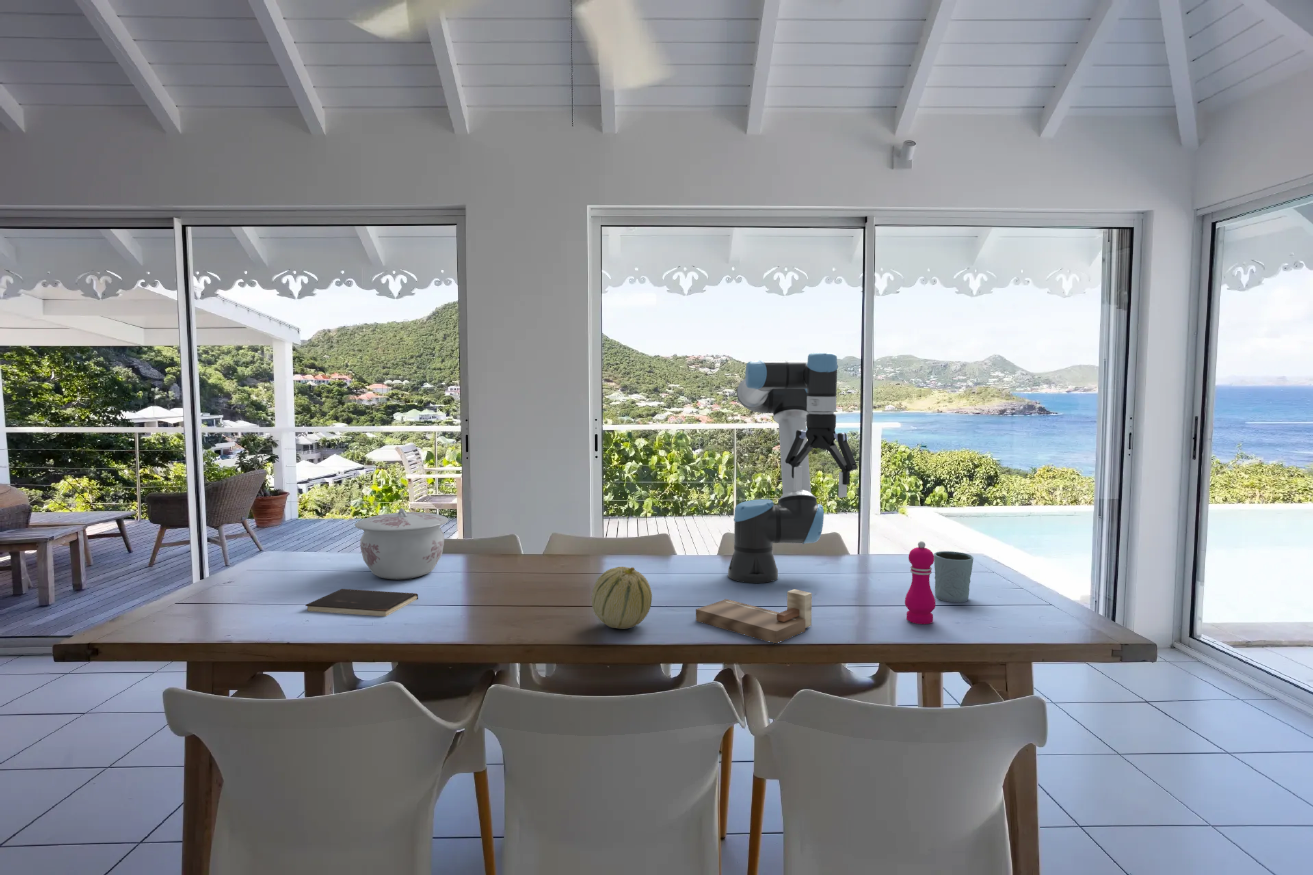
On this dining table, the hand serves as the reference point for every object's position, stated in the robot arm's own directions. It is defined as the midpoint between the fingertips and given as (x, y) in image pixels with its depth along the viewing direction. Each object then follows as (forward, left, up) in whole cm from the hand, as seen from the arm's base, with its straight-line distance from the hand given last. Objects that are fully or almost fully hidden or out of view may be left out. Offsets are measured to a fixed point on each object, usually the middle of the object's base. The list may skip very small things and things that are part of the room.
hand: (819, 493), depth 195 cm
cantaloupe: (-26, -47, -30) cm, 62 cm away
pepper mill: (+24, +8, -30) cm, 40 cm away
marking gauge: (+5, -20, -30) cm, 36 cm away
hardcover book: (-88, -82, -31) cm, 125 cm away
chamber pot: (-111, -59, -30) cm, 129 cm away
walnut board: (-4, -25, -30) cm, 40 cm away
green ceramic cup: (+22, +33, -30) cm, 50 cm away
